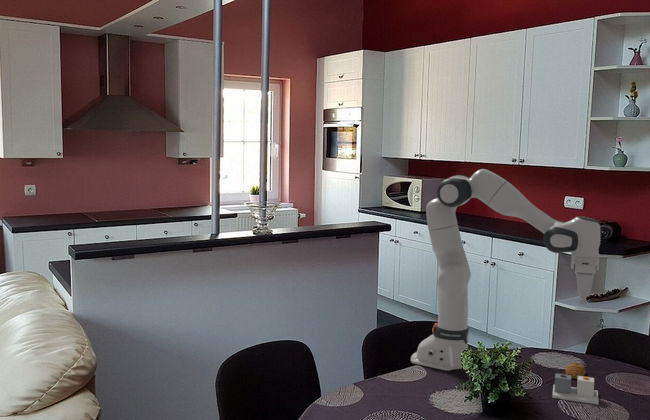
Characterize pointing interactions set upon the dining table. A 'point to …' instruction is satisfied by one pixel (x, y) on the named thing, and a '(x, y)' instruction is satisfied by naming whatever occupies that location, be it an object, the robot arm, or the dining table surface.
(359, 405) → the dining table surface
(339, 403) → the dining table surface
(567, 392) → the rail base
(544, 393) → the dining table surface
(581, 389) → the module
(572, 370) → the pastry
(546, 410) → the dining table surface
